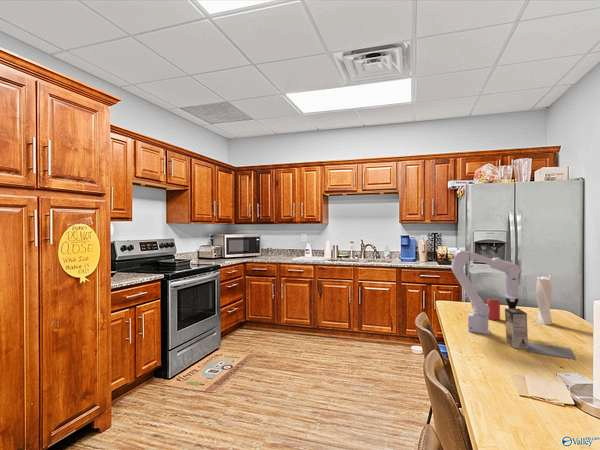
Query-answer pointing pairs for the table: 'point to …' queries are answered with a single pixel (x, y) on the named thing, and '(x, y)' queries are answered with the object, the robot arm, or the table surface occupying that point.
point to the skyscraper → (544, 300)
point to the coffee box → (516, 328)
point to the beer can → (494, 308)
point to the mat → (550, 350)
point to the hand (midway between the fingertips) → (512, 312)
